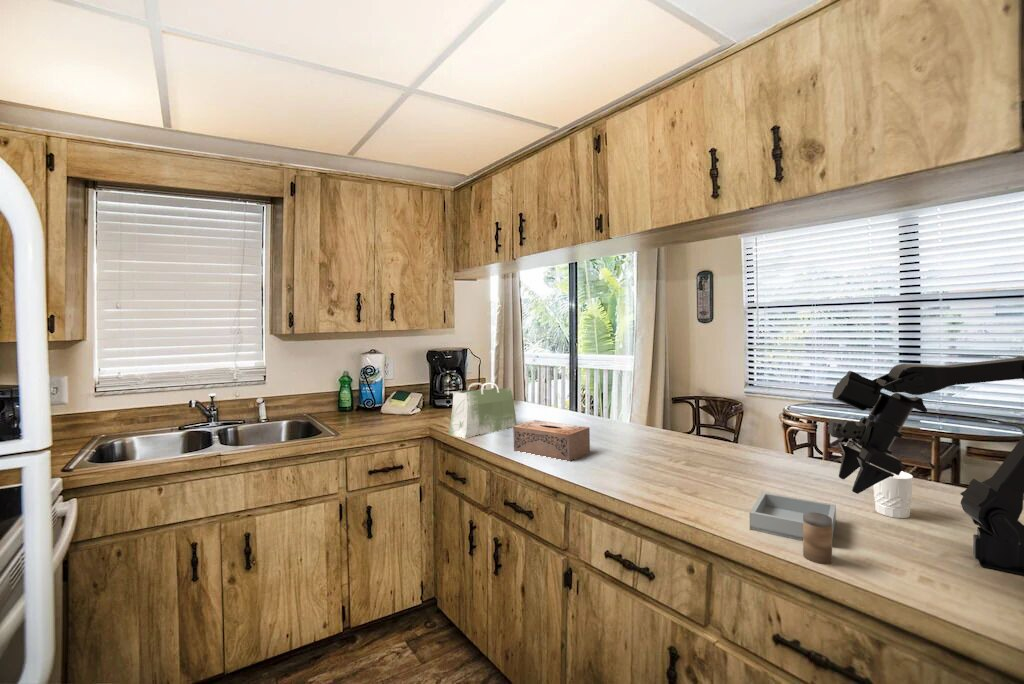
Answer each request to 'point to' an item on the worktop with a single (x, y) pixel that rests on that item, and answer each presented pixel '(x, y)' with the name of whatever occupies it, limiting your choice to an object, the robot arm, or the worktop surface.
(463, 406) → the grocery bag
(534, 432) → the tissue box cover
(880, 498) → the white cup
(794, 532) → the bin
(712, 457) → the worktop surface
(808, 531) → the spice jar
